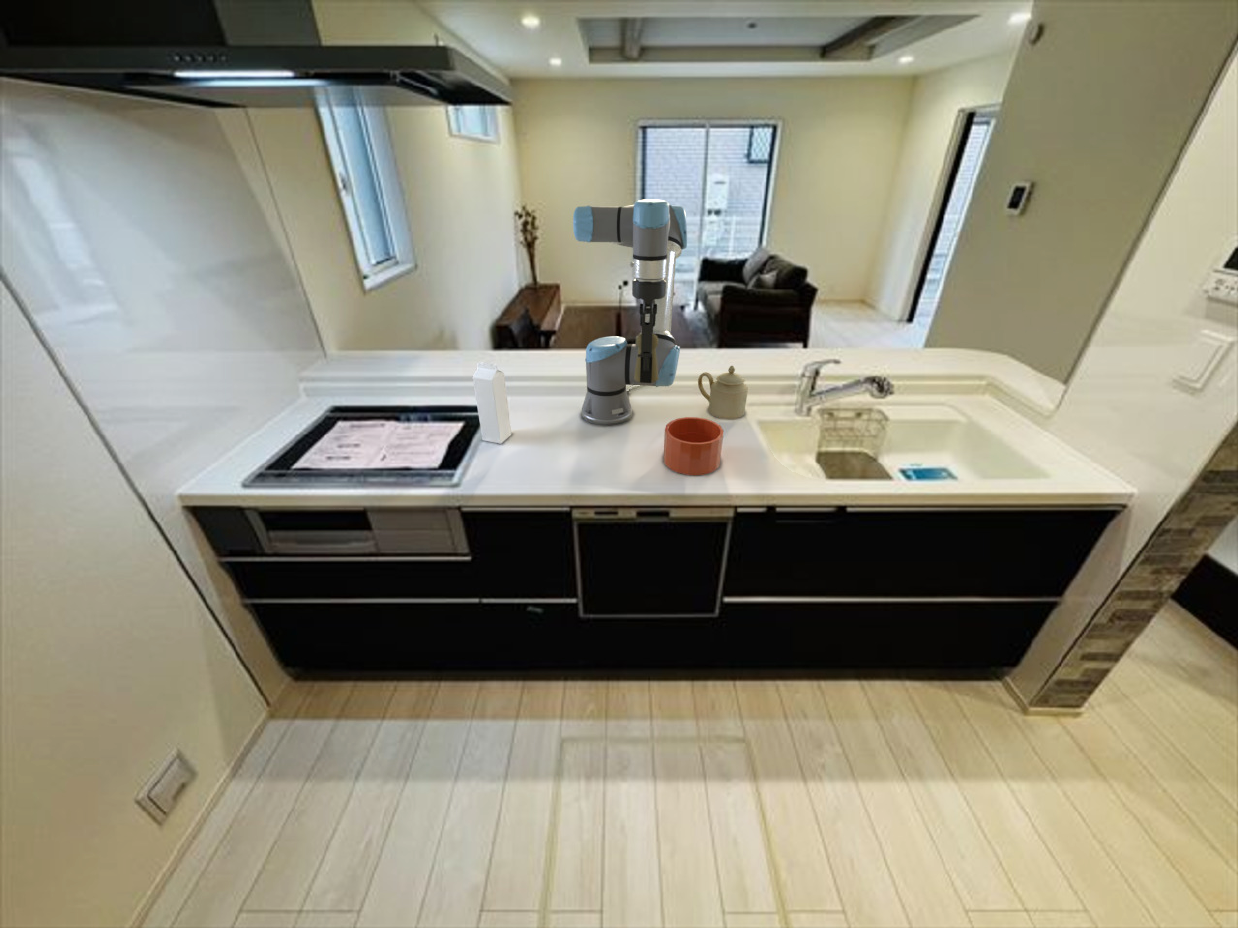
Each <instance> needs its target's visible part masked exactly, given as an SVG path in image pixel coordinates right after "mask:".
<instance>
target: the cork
mask: <svg viewBox="0 0 1238 928" xmlns="http://www.w3.org/2000/svg"><path fill="white" fill-rule="evenodd" d="M641 335H642V334H640V333H639V334H638V335H637V336H638V337H637V336H636V337H637V339H636V338H635V339H636V344H637V346H638V354H640V353H641ZM657 345H658V337H657V336H656V335H655V334H653V337H652V382H656V381H657V380H658V369H657V358H656V347H657ZM640 366H641V357H638V355H637V361H636V368H635V375H634V380H636V381H637V382H640ZM652 382H651V383H652Z"/></svg>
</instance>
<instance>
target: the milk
mask: <svg viewBox="0 0 1238 928" xmlns="http://www.w3.org/2000/svg"><path fill="white" fill-rule="evenodd" d="M476 366H477V368H476V370H475V372H474V373H473V375H472V381H473V382H472V383H473V389H474V396H475V402H476V407H477V415H478V420H479V421H478V422H479V427H480V432H481V440H482V441H484V442H490V443H495V444H500V445H501V444H502V443H504V442H505V441H506V440H507V439H508V438H509V437H510V436H511V435H512V426H511V417H510V409H509V402H508V396H507V395H508V394H507V393H508V392H507V386H506V379H505V378H506V377H505V372H504V371H502V370H499V369H498V365H497V364H496V363H489V362H483V361H477V362H476Z"/></svg>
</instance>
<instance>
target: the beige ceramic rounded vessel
mask: <svg viewBox="0 0 1238 928" xmlns="http://www.w3.org/2000/svg"><path fill="white" fill-rule="evenodd" d="M727 371H728V372H723V373H721V374H719V375H717V377H716V380H714V378H713V376H712V374H711V373H710V372H702V373H700V375H699V376H698V379H697V386H698V390H699V392H700V393H701V395H702V396H703V397H704V398H705V399H706V400H707V402H708V412H709V414H711V416H714V417H716V418H719V419H724V420H736V419H739V418H741V417H743V416H744V415H745V410H746V407H747V406H746V405H747V401H748V400H747V399H748V391H749V387H748V385H747V384H746V383H745V382H746V379H745V378H744V377H743V376H741V375H740V374H738V373H736V372H735V371H736V368H735V367H734V365H730V366H729V367H728V370H727ZM703 377H706V378H707V379H708V383H709V390H710V391H709V392H710V393H709V394H708V393H707V391H706V390H705V388H704V384H703Z"/></svg>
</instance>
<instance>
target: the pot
mask: <svg viewBox="0 0 1238 928" xmlns="http://www.w3.org/2000/svg"><path fill="white" fill-rule="evenodd" d="M663 436H664V439H663V455H662V457H663V462H664V464H665V466H666V467H667V468H668V469H670V470H671V471H673V472H675V473H678V474H682V475H686V476H704V475H708V474H711V473H713V472H714V471H716V470H717V469H718V468H720V467H719V466H720V465H721V457H722V456H721V455H722V449H723V439H724V429H723V427H722V426H721V425H720V424H718V423H717V422H715V421H713V420H710V419H708V418H703V417H697V416H685V417H679V418H675V419H673V420H670V421H669V422H668V423H667V424H665V428H664V435H663Z"/></svg>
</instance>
